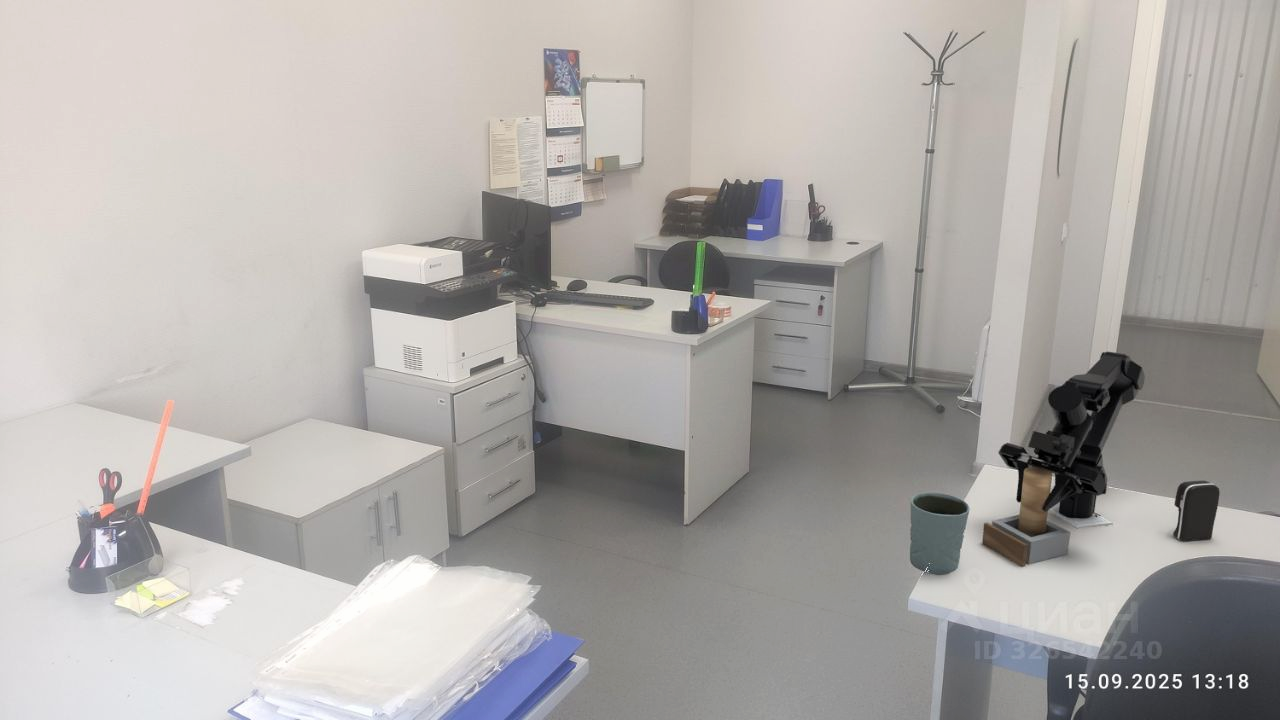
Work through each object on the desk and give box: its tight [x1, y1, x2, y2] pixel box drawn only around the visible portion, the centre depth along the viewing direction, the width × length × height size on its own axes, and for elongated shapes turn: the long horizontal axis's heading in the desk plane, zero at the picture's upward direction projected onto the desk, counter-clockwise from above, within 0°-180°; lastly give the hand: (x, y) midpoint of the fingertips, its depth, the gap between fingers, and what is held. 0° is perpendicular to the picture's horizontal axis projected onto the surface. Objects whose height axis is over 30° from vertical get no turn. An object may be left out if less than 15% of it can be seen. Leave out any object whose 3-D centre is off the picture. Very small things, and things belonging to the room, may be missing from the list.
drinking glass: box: [909, 492, 971, 575], centre depth 163 cm, size 10×10×12 cm
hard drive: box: [1048, 502, 1114, 530], centre depth 183 cm, size 2×8×12 cm
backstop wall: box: [981, 522, 1028, 568], centre depth 166 cm, size 1×10×4 cm, turn 23°
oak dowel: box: [1018, 467, 1053, 537], centre depth 167 cm, size 5×5×13 cm
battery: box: [1173, 480, 1221, 542], centre depth 172 cm, size 7×4×11 cm, turn 98°
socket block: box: [991, 514, 1071, 565], centre depth 168 cm, size 10×10×4 cm
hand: (1030, 505), depth 166 cm, fingers closed on oak dowel, 5 cm apart
